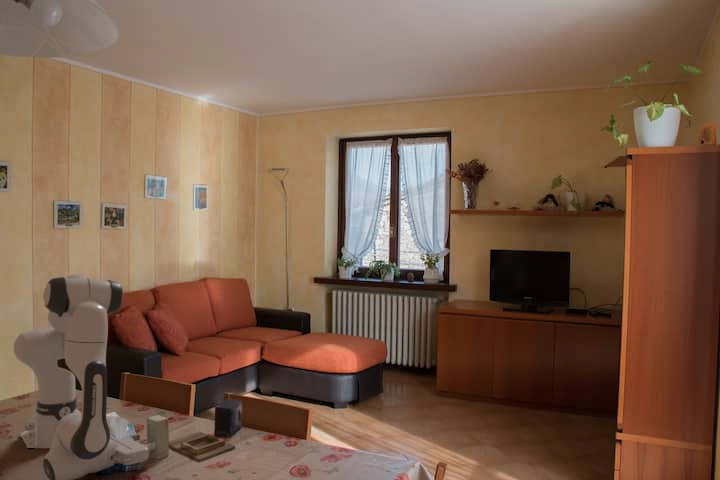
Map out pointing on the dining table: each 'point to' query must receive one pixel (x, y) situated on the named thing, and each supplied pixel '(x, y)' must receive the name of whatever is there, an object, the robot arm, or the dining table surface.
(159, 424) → the skincare box
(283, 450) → the dining table surface
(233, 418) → the small box
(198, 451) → the wooden board with frame
